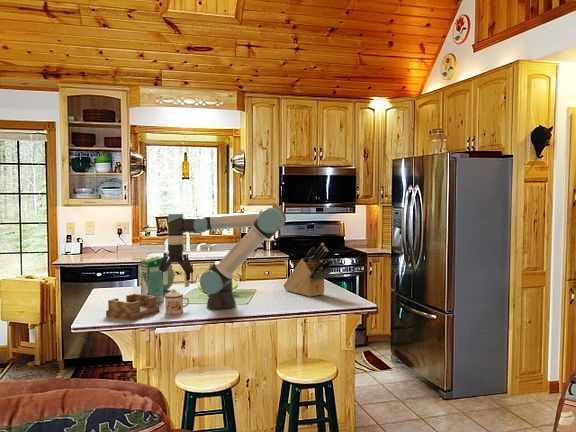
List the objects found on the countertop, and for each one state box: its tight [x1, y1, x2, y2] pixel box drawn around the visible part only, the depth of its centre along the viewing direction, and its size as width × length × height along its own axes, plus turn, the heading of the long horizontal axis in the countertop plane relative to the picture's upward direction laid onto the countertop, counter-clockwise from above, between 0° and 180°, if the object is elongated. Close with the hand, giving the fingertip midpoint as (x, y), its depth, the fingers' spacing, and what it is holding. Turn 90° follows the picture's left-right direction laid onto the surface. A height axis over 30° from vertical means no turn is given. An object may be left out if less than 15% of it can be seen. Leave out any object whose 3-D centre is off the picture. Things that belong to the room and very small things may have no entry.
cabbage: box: [163, 259, 176, 292], centre depth 307 cm, size 16×19×20 cm
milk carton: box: [139, 255, 165, 304], centre depth 278 cm, size 9×9×25 cm
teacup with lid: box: [164, 288, 190, 315], centre depth 254 cm, size 12×9×12 cm
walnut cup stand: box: [105, 293, 160, 321], centre depth 250 cm, size 17×19×8 cm
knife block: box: [282, 242, 334, 298], centre depth 295 cm, size 11×35×31 cm, turn 36°
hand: (176, 285), depth 254 cm, fingers open, 13 cm apart
